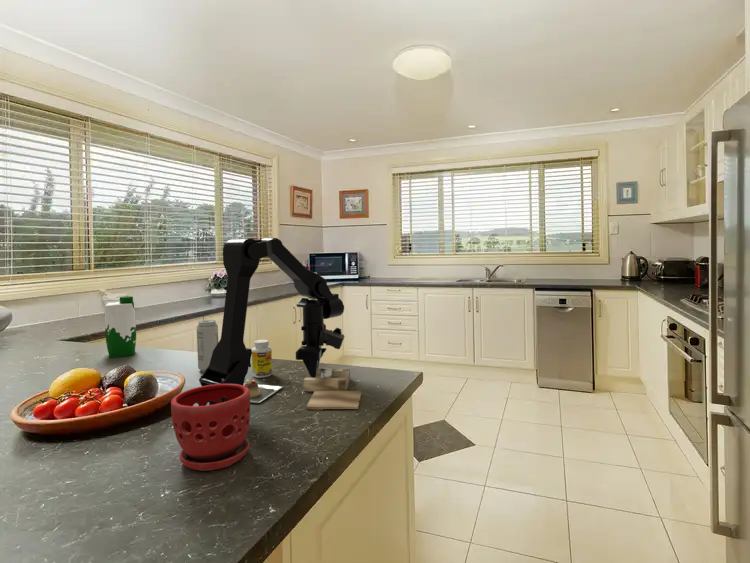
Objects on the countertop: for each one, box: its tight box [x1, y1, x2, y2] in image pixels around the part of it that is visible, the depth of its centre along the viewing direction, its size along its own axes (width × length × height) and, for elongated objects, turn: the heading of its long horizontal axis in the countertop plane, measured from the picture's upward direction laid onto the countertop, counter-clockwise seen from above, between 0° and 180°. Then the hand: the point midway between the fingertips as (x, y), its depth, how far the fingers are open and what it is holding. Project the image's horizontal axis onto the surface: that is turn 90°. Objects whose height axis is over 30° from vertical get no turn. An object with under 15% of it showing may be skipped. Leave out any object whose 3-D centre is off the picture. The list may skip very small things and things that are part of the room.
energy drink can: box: [196, 319, 219, 373], centre depth 130 cm, size 6×6×15 cm
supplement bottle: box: [251, 339, 273, 379], centre depth 125 cm, size 6×6×10 cm
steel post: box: [319, 366, 333, 378], centre depth 116 cm, size 3×3×4 cm
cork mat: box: [305, 390, 362, 410], centre depth 105 cm, size 11×12×1 cm
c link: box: [303, 368, 351, 392], centre depth 116 cm, size 11×10×3 cm
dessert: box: [243, 378, 284, 404], centre depth 110 cm, size 12×12×5 cm
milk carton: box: [104, 295, 137, 359], centre depth 149 cm, size 9×9×20 cm
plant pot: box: [170, 384, 251, 471], centre depth 77 cm, size 13×13×12 cm
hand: (314, 376), depth 121 cm, fingers closed on c link, 2 cm apart
